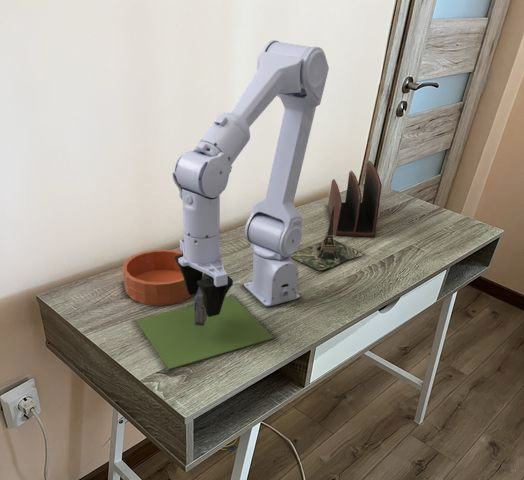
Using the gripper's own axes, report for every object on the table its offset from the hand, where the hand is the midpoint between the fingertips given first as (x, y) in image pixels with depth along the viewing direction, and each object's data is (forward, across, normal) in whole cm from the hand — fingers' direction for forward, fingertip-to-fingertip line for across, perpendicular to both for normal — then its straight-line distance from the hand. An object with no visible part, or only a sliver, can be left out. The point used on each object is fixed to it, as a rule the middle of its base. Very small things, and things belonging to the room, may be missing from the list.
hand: (203, 303), depth 93 cm
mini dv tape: (+2, 0, 0) cm, 2 cm away
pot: (+6, -18, -1) cm, 19 cm away
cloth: (+6, 0, 0) cm, 6 cm away
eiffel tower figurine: (+6, -15, +38) cm, 41 cm away
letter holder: (+6, -29, +56) cm, 63 cm away
